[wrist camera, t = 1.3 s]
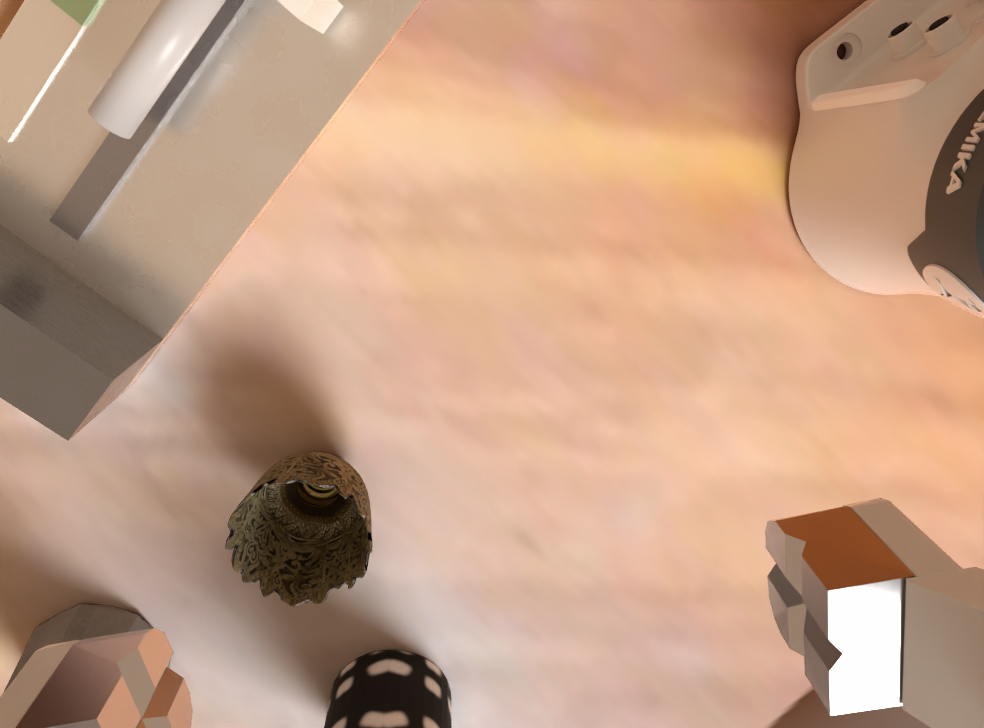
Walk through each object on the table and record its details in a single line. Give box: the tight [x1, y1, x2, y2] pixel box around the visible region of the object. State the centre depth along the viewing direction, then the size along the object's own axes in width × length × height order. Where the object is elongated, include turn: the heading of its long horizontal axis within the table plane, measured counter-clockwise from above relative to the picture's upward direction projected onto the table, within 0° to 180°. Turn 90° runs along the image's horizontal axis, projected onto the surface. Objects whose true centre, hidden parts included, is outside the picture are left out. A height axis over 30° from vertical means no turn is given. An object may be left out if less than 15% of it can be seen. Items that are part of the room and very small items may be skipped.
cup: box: [226, 451, 372, 606], centre depth 42 cm, size 8×7×8 cm
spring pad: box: [88, 0, 343, 139], centre depth 32 cm, size 11×12×6 cm
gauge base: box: [0, 0, 424, 440], centre depth 35 cm, size 28×14×8 cm, turn 139°
